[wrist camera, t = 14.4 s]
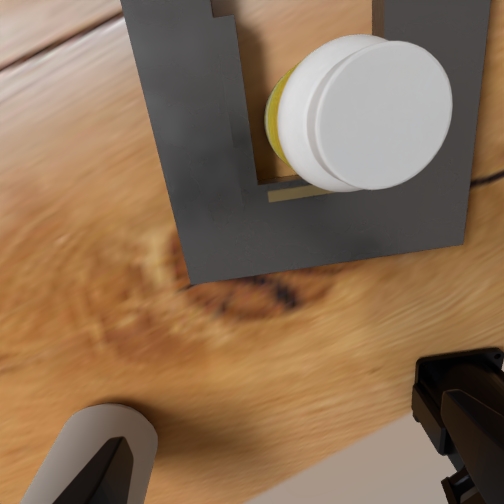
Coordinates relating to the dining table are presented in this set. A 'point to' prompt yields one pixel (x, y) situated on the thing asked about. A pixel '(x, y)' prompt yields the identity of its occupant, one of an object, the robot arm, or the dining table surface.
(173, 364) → the dining table surface
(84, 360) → the dining table surface
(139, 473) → the can
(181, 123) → the keyhole plate
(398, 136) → the supplement bottle
